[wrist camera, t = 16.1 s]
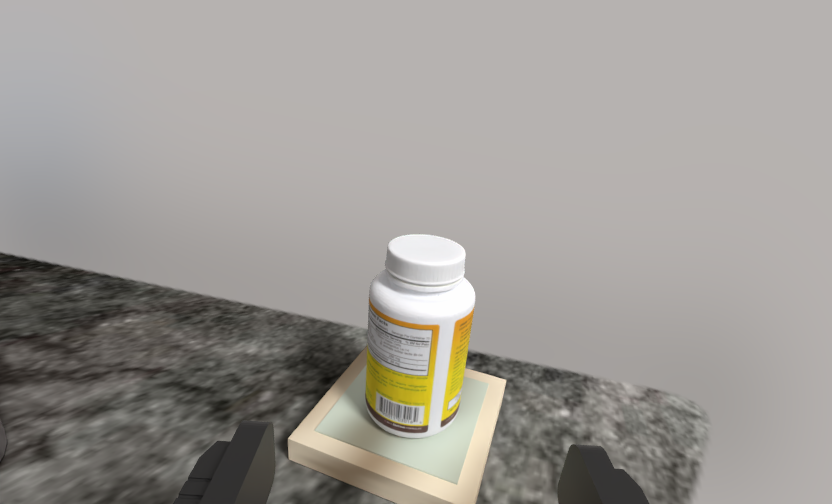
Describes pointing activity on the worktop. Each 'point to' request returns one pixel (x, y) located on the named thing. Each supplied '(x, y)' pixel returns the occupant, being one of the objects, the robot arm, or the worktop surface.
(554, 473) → the worktop surface
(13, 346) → the worktop surface
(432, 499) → the birch block
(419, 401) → the supplement bottle
